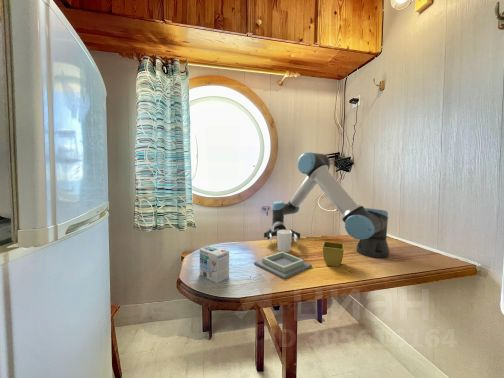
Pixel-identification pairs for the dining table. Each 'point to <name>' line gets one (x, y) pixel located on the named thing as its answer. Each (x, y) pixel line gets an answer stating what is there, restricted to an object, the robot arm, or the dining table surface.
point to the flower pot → (333, 253)
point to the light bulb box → (214, 263)
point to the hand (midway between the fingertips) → (283, 239)
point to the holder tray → (283, 264)
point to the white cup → (284, 240)
